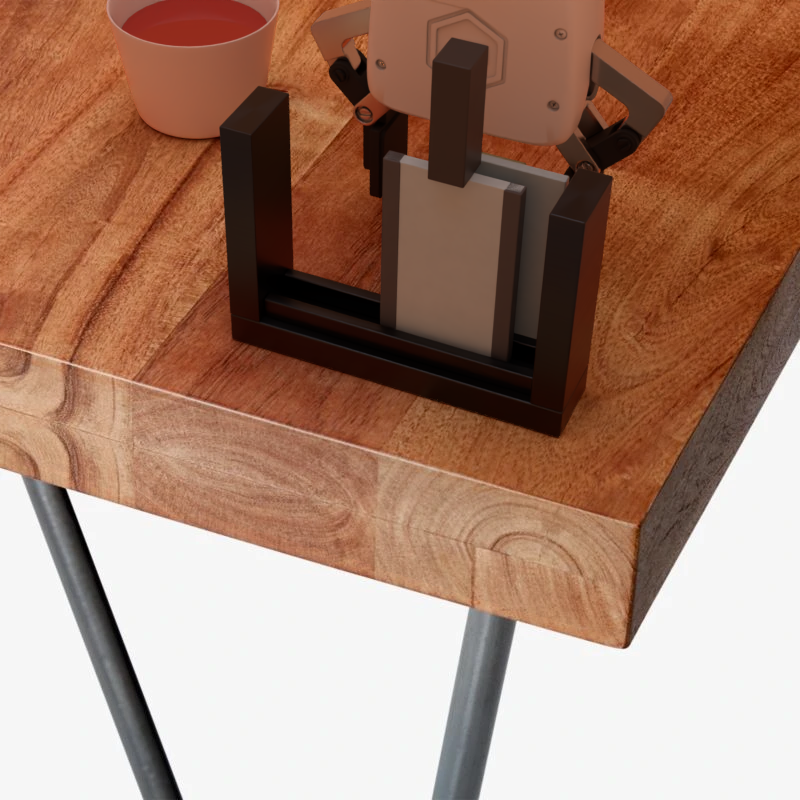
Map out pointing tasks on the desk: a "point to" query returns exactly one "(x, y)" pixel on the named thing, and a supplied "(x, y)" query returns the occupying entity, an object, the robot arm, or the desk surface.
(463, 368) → the window frame
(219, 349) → the desk surface
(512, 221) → the sash
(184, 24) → the candle
